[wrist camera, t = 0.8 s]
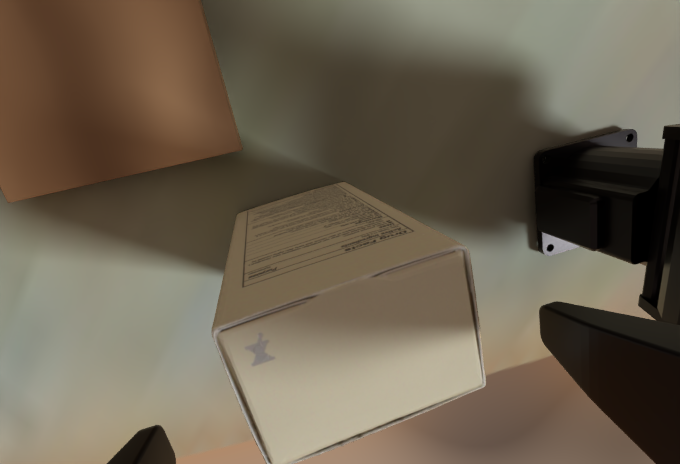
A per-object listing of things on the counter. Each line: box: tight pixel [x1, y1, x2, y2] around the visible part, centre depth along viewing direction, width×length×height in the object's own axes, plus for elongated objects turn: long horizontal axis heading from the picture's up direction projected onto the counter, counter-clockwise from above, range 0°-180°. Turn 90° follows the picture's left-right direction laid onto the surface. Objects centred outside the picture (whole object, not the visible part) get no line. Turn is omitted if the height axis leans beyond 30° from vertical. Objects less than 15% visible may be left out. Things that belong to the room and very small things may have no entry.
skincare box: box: [212, 182, 486, 464], centre depth 15 cm, size 6×4×12 cm
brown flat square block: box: [0, 0, 243, 203], centre depth 16 cm, size 10×10×2 cm
